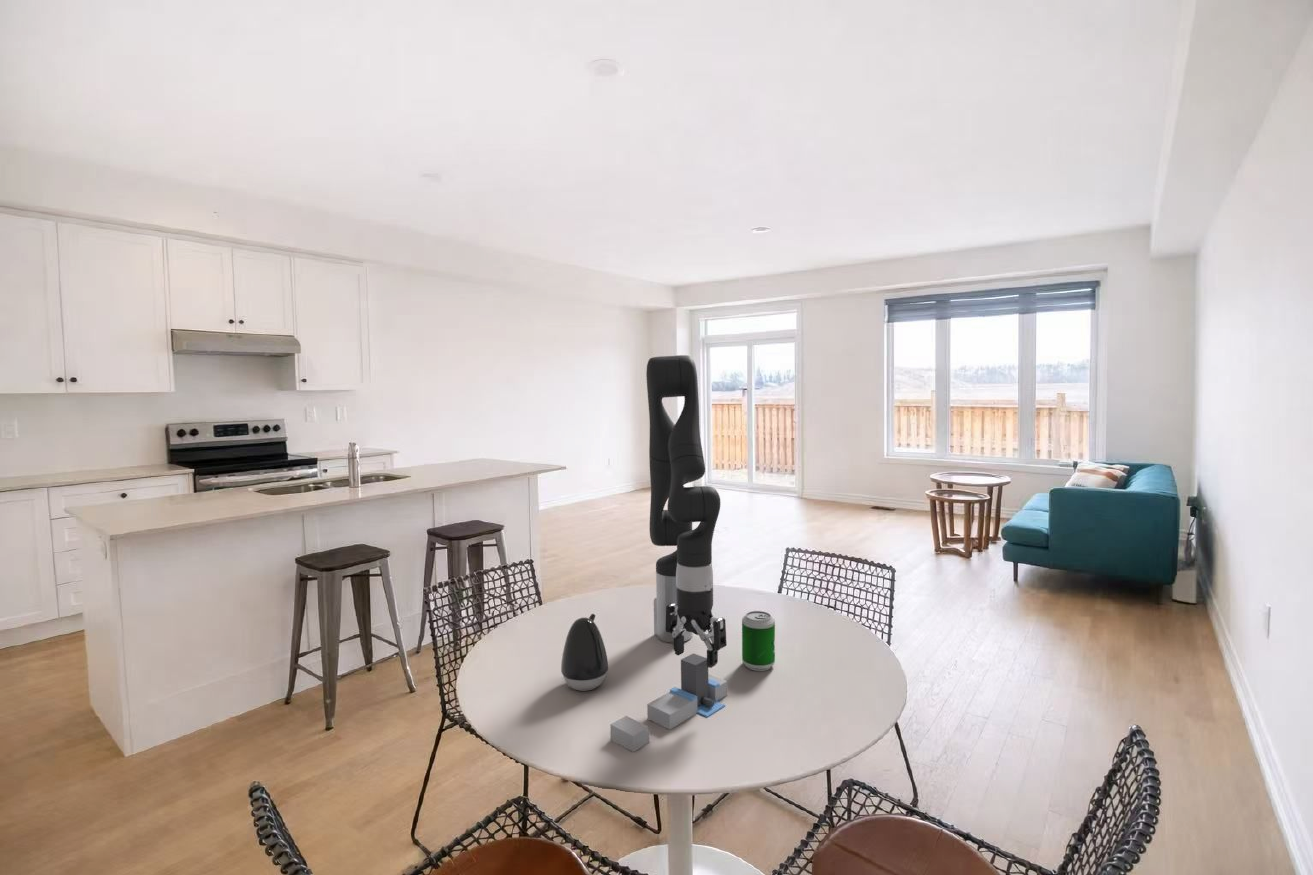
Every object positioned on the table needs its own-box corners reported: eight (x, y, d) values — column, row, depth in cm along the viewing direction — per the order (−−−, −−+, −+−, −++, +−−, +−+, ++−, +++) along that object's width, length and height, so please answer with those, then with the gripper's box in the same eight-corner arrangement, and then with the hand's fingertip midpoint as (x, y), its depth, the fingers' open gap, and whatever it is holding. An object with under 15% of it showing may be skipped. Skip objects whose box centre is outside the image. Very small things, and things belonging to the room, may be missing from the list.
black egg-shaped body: (616, 677, 146) (614, 612, 144) (596, 699, 136) (595, 629, 134) (575, 671, 149) (573, 607, 148) (553, 692, 139) (551, 624, 138)
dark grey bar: (681, 701, 134) (680, 659, 133) (693, 694, 137) (693, 653, 136) (705, 711, 130) (705, 668, 129) (718, 704, 132) (717, 662, 132)
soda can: (774, 673, 146) (774, 622, 145) (741, 671, 148) (740, 620, 147) (775, 659, 154) (775, 610, 153) (743, 657, 155) (743, 608, 154)
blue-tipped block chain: (601, 734, 123) (601, 716, 122) (696, 682, 143) (696, 666, 143) (643, 757, 115) (643, 738, 115) (736, 698, 135) (736, 682, 135)
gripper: (656, 580, 134) (657, 655, 136) (710, 596, 124) (711, 677, 126) (680, 572, 139) (680, 644, 141) (734, 586, 130) (734, 664, 131)
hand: (695, 659), depth 133 cm, fingers open, 8 cm apart
